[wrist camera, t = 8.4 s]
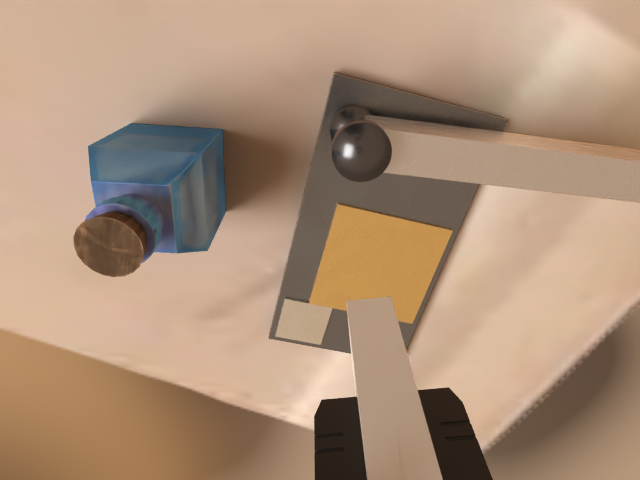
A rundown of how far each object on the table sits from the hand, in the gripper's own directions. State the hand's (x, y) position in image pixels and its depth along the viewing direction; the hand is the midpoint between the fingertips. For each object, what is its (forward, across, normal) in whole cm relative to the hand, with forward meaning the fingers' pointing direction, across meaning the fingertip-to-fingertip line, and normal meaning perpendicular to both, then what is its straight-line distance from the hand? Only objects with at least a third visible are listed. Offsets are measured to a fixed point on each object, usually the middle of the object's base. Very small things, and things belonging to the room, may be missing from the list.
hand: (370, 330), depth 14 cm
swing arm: (+16, +9, +1) cm, 18 cm away
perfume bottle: (+18, -11, +1) cm, 21 cm away
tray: (+18, +2, -6) cm, 19 cm away
